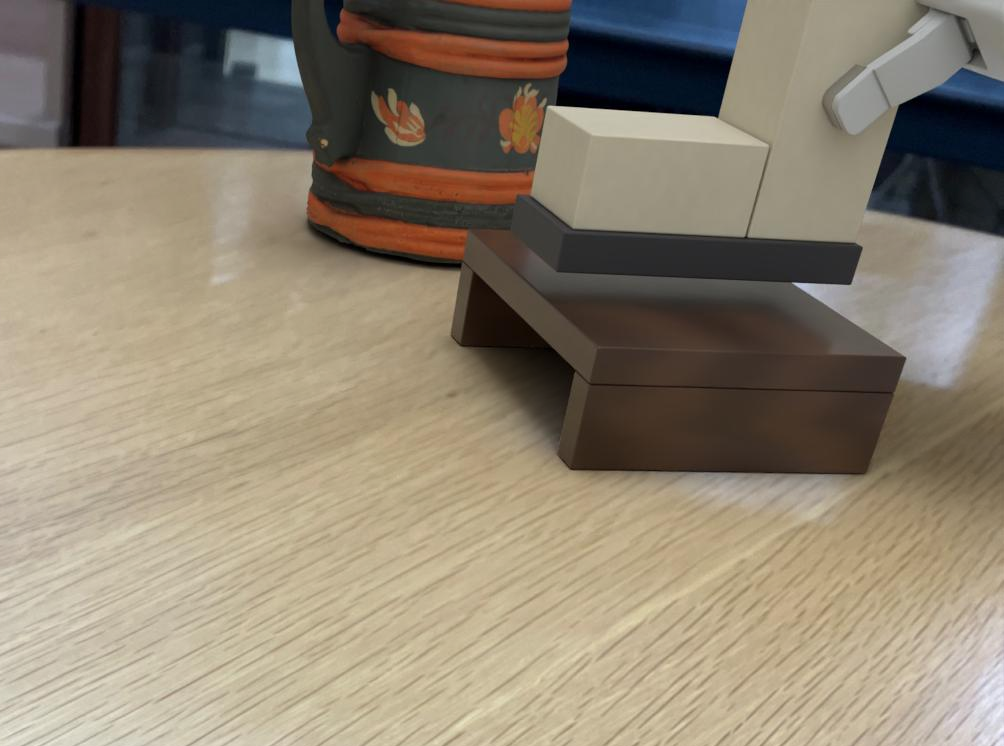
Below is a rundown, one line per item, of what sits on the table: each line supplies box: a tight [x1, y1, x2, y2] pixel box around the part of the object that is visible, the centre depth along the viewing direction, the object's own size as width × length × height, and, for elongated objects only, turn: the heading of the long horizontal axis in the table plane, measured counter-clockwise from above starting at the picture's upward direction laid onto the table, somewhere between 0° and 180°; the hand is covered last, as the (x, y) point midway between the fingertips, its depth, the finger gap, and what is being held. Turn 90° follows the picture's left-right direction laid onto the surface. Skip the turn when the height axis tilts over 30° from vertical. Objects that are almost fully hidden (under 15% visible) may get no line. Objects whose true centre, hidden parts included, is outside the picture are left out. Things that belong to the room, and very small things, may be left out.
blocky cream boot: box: [510, 0, 930, 286], centre depth 65 cm, size 14×6×11 cm, turn 101°
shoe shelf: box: [450, 228, 907, 474], centre depth 71 cm, size 14×18×5 cm
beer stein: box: [290, 0, 573, 264], centre depth 85 cm, size 19×15×20 cm
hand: (795, 101), depth 65 cm, fingers closed on blocky cream boot, 5 cm apart
